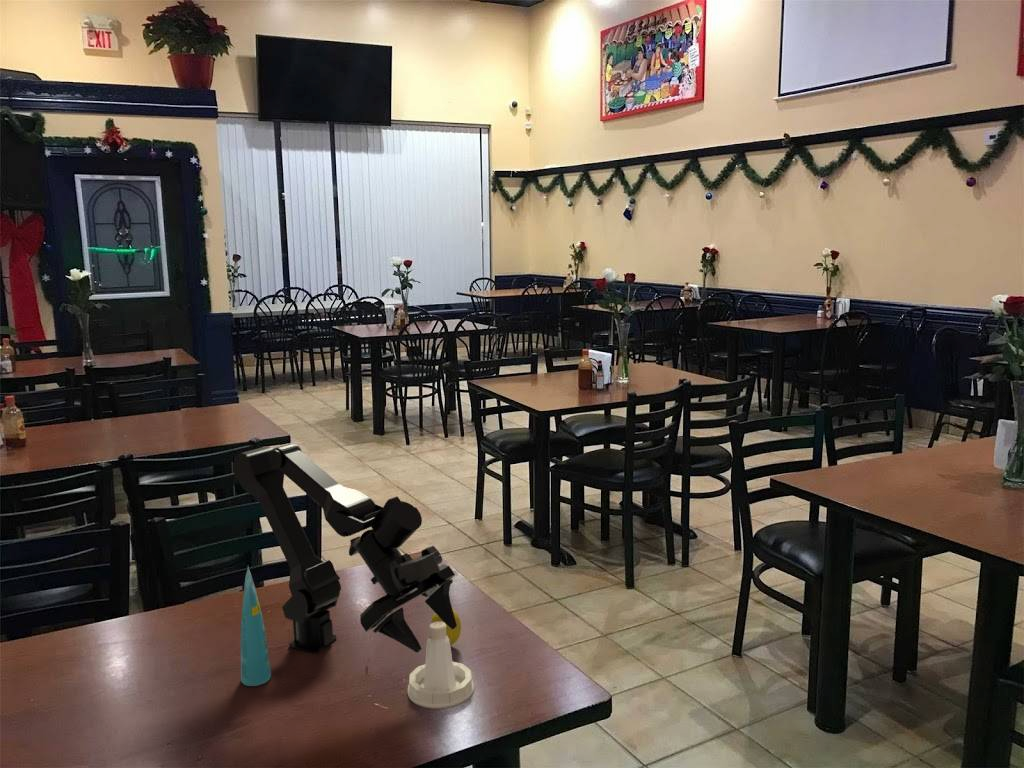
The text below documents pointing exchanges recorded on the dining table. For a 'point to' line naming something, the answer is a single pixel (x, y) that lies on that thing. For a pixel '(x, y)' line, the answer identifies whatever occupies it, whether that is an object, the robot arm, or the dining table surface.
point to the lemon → (451, 633)
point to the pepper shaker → (438, 659)
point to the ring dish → (441, 697)
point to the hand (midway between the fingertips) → (437, 639)
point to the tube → (253, 639)
